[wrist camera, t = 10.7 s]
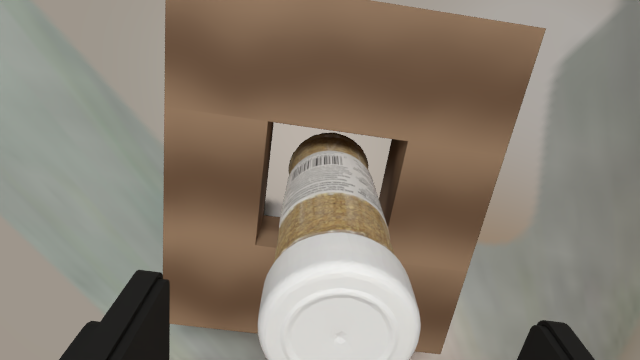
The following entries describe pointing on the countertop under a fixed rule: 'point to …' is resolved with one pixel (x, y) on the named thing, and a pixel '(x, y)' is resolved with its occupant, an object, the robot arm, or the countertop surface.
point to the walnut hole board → (338, 115)
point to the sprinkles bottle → (335, 265)
